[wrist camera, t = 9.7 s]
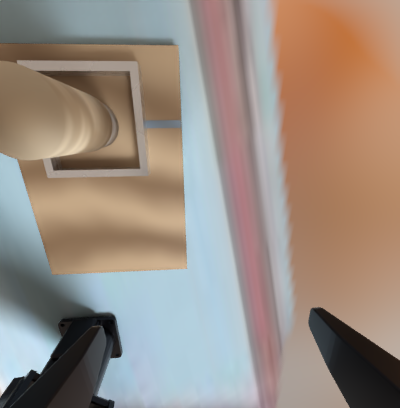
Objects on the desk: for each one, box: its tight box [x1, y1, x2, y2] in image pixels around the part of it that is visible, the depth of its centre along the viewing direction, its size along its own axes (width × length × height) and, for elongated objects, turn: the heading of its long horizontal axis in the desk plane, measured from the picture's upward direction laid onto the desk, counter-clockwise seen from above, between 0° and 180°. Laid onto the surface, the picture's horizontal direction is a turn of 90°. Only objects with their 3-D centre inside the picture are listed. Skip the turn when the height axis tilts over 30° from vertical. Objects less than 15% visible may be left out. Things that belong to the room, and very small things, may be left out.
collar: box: [17, 60, 151, 178], centre depth 16 cm, size 8×8×1 cm
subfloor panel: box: [0, 43, 187, 275], centre depth 18 cm, size 20×14×1 cm
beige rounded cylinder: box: [0, 61, 119, 160], centre depth 12 cm, size 4×4×8 cm
